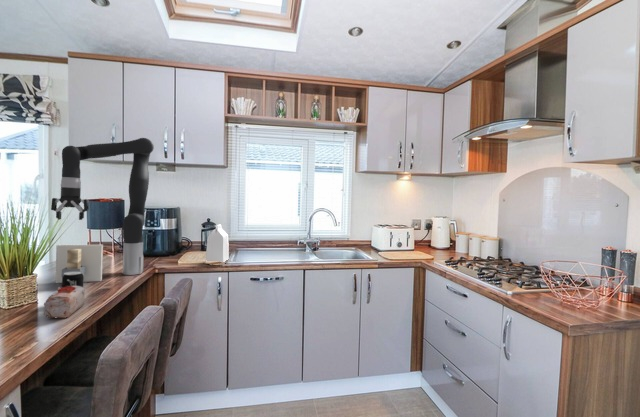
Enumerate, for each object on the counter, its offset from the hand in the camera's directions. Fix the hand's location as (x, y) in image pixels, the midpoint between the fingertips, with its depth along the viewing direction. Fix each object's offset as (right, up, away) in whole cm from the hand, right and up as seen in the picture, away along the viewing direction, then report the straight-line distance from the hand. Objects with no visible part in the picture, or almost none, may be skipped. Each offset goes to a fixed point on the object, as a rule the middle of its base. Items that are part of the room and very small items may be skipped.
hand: (70, 219), depth 147 cm
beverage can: (+25, -32, -28) cm, 49 cm away
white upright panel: (+7, -31, -6) cm, 32 cm away
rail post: (+8, -25, -8) cm, 27 cm away
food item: (+31, -33, -38) cm, 59 cm away
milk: (+55, -32, +52) cm, 82 cm away
